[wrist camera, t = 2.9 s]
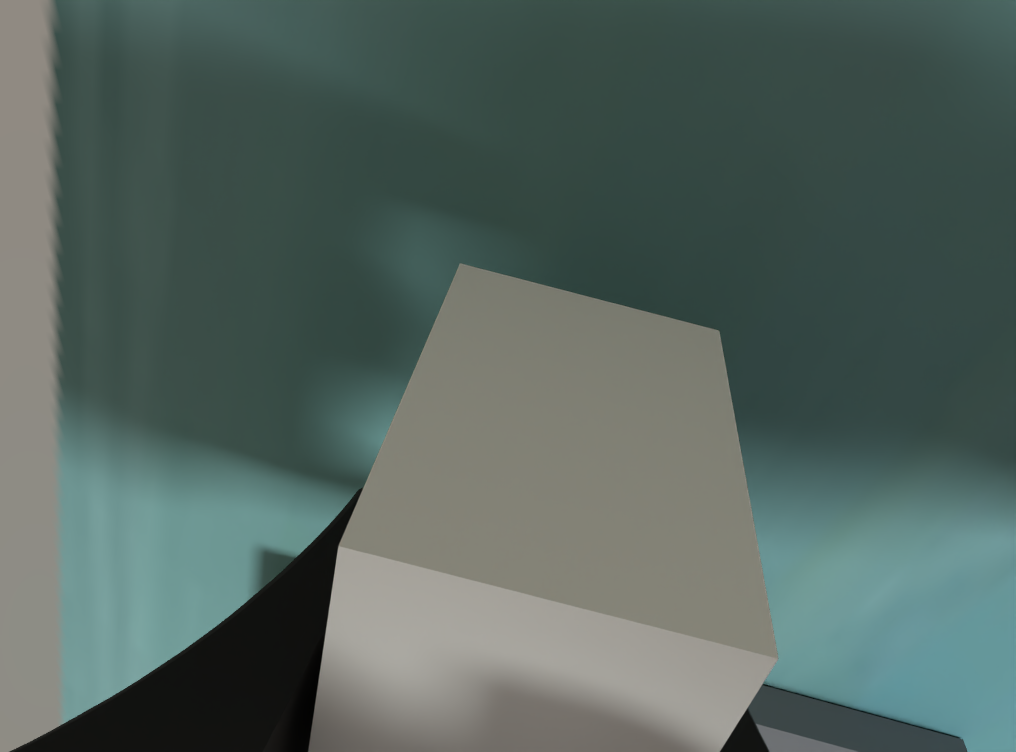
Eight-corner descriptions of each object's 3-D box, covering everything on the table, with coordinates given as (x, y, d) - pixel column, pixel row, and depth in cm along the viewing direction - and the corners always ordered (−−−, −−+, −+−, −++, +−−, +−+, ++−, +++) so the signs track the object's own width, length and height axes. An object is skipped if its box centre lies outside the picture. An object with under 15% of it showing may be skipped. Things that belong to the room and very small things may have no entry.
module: (719, 330, 12) (777, 659, 7) (566, 692, 17) (538, 1039, 12) (459, 263, 12) (338, 545, 7) (380, 645, 17) (275, 972, 12)
